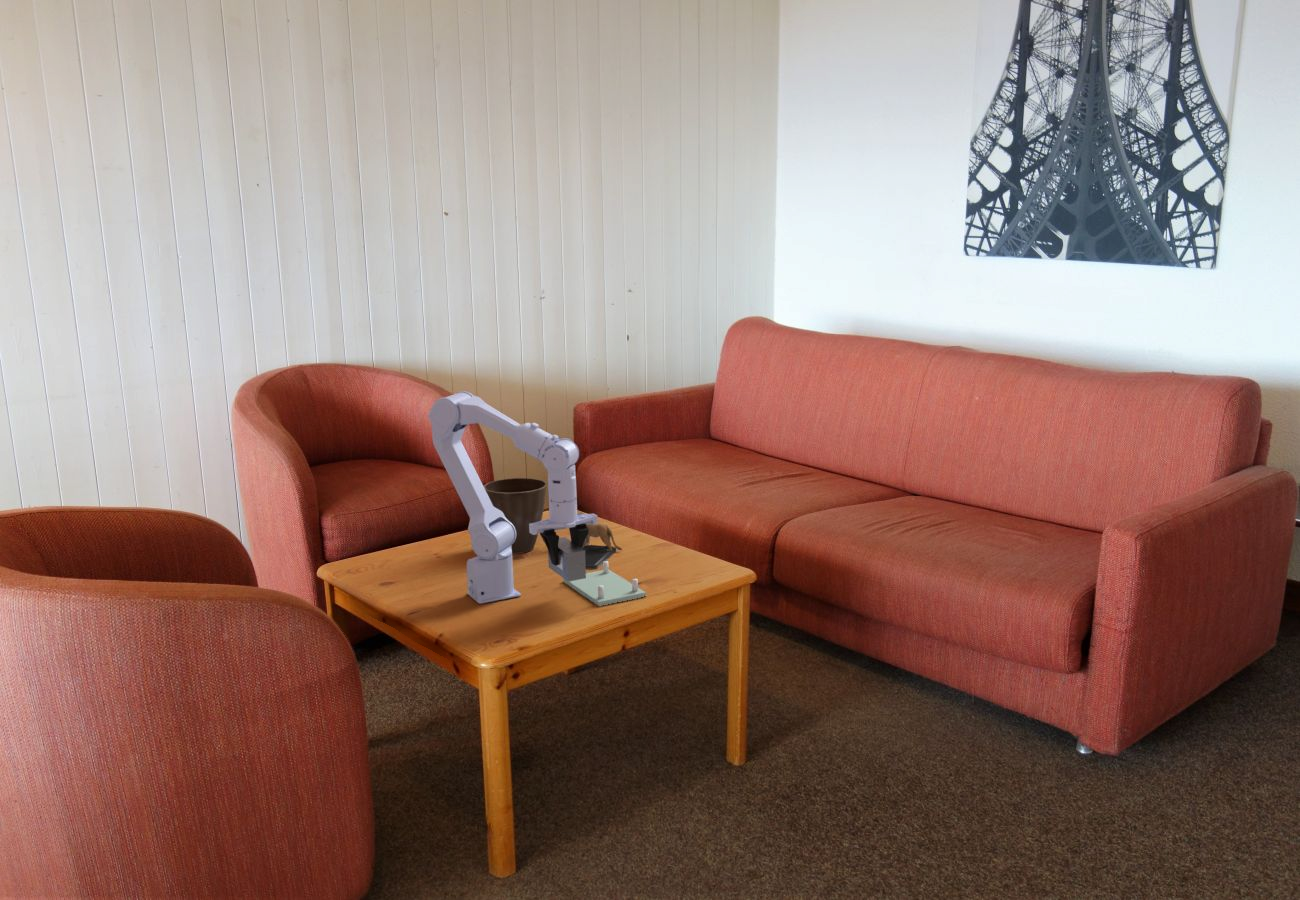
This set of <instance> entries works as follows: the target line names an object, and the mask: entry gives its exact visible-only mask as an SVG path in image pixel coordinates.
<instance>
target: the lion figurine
mask: <svg viewBox="0 0 1300 900" xmlns="http://www.w3.org/2000/svg"><path fill="white" fill-rule="evenodd" d="M583 514H585V513H584V512H582V511H579V510H577V515H583ZM586 527H587V528H589V533H588V535H587V537H586V539H585V541H584V543H583V546H582V549H583V548H584V547H585V546H587V545H590V543H591V542H590V540H591V539H590V538H591V537H592V538H598V537H599V538H600V540H601V541H602V543H603V544H604V546H607V547H608V548H609V550H607V551H612V547H616V550H618V551H622V550H623V548H622V547H620V546H618V545H617V544H616V541H615V538H614V534H613V532H612V529H611V526H610V525H609V524H608V523H607V522H598V524H596V525H592V524H590V525H586ZM611 541H612V542H611ZM612 544H613V546H612Z"/></svg>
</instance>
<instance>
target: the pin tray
mask: <svg viewBox="0 0 1300 900" xmlns="http://www.w3.org/2000/svg"><path fill="white" fill-rule="evenodd" d="M602 568H603V569H602V570H597V571H595V570H594V571H591V572H586V578H585V579H579V580H574V581H569V582H568V581H566V580H565V579H564V578H562V579H563V583H564V584H566V585H567V586H569V587H571V589H573V590H575V591H576V592H577V593H579V594H580V595H582V596H583V597H584V598H586V599H588V600H589V602H592V603H593V602H594V604H595V606H597V607H604V606H608V604H609V605H613V604H612V603H614V604H618V603H617V602H619V603H622V601H623V602H628V601H632V599H633V600H637V598H638V599H642V598H641V597H643V598H645V597H644V596H646V597H647V592H646V591H644V590H643V589H642V588H639V581H638V578H632V579H631V582H629V580H627V579H625V578H623V577H622V576H620V575H618V574H617V573H615V572H613V571H612V570H610V569H609V561H608V560H606V561H604V562H603V564H602ZM627 600H628V601H627ZM603 605H604V606H603Z"/></svg>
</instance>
